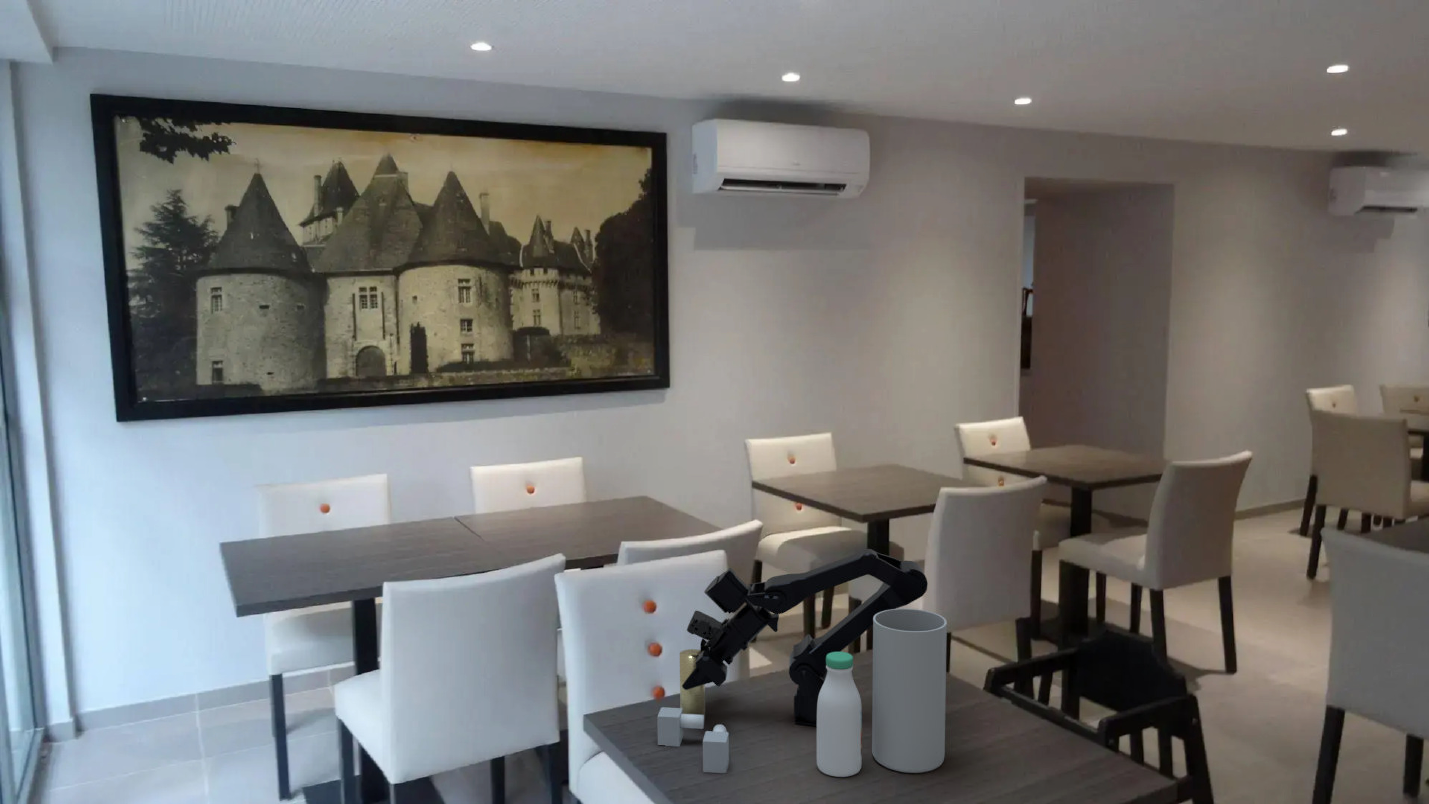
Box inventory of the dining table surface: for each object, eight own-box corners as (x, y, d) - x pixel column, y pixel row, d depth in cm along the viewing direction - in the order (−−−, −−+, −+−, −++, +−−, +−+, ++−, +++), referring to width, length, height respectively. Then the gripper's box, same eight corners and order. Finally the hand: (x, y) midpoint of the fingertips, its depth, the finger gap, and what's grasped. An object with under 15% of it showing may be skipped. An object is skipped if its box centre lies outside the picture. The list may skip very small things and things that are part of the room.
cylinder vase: (902, 781, 163) (903, 636, 160) (857, 751, 174) (858, 615, 171) (959, 764, 169) (962, 624, 166) (913, 736, 180) (915, 604, 177)
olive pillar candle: (708, 712, 191) (707, 650, 190) (700, 722, 186) (699, 658, 185) (685, 709, 192) (684, 648, 191) (677, 719, 188) (676, 656, 187)
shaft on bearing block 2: (726, 773, 166) (726, 742, 166) (703, 771, 167) (702, 741, 166) (731, 752, 174) (730, 723, 173) (708, 751, 174) (708, 722, 174)
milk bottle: (860, 780, 163) (861, 665, 161) (814, 776, 165) (814, 662, 163) (862, 759, 171) (863, 648, 169) (818, 755, 172) (819, 646, 170)
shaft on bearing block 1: (657, 745, 177) (657, 716, 176) (661, 735, 181) (661, 707, 180) (701, 747, 176) (701, 718, 175) (704, 737, 180) (704, 709, 179)
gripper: (716, 585, 196) (662, 637, 198) (707, 614, 177) (648, 671, 180) (755, 624, 196) (701, 675, 198) (750, 657, 178) (690, 714, 180)
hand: (685, 682), depth 189 cm, fingers closed on olive pillar candle, 5 cm apart
